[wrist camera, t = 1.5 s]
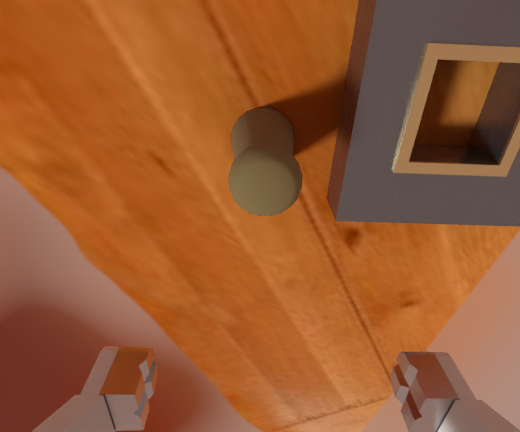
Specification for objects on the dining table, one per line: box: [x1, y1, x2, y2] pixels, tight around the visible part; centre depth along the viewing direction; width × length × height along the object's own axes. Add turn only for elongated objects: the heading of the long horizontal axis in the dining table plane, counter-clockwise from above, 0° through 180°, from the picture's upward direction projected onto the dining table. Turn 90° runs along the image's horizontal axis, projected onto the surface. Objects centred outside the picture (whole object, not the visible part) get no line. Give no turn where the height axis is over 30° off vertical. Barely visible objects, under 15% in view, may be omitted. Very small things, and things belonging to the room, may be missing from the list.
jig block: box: [327, 0, 520, 226], centre depth 28 cm, size 20×18×5 cm
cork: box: [229, 108, 302, 216], centre depth 27 cm, size 6×6×11 cm
